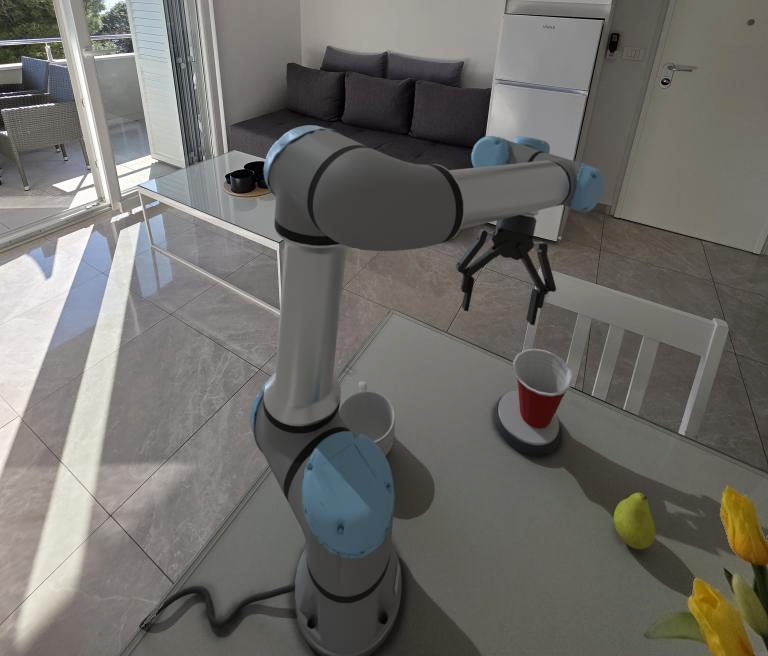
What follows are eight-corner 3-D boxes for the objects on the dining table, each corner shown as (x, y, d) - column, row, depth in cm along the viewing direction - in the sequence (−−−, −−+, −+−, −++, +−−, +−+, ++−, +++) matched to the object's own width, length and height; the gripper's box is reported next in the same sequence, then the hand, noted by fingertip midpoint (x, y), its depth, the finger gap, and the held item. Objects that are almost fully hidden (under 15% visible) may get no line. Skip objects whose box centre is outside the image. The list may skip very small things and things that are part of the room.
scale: (506, 457, 80) (508, 446, 79) (487, 399, 92) (488, 389, 91) (570, 454, 81) (572, 444, 80) (543, 397, 93) (545, 387, 92)
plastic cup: (500, 391, 91) (506, 345, 87) (551, 393, 91) (560, 348, 87) (513, 440, 80) (522, 392, 77) (571, 443, 80) (582, 394, 76)
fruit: (637, 516, 71) (653, 465, 68) (658, 560, 66) (677, 507, 62) (602, 516, 71) (617, 465, 68) (621, 559, 66) (638, 506, 62)
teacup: (393, 477, 76) (394, 444, 74) (332, 473, 77) (332, 440, 74) (394, 407, 89) (396, 377, 87) (343, 404, 90) (343, 374, 87)
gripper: (569, 222, 91) (550, 321, 90) (455, 198, 91) (435, 297, 90) (586, 228, 84) (565, 335, 83) (462, 202, 84) (440, 309, 83)
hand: (497, 315), depth 87 cm, fingers open, 13 cm apart
